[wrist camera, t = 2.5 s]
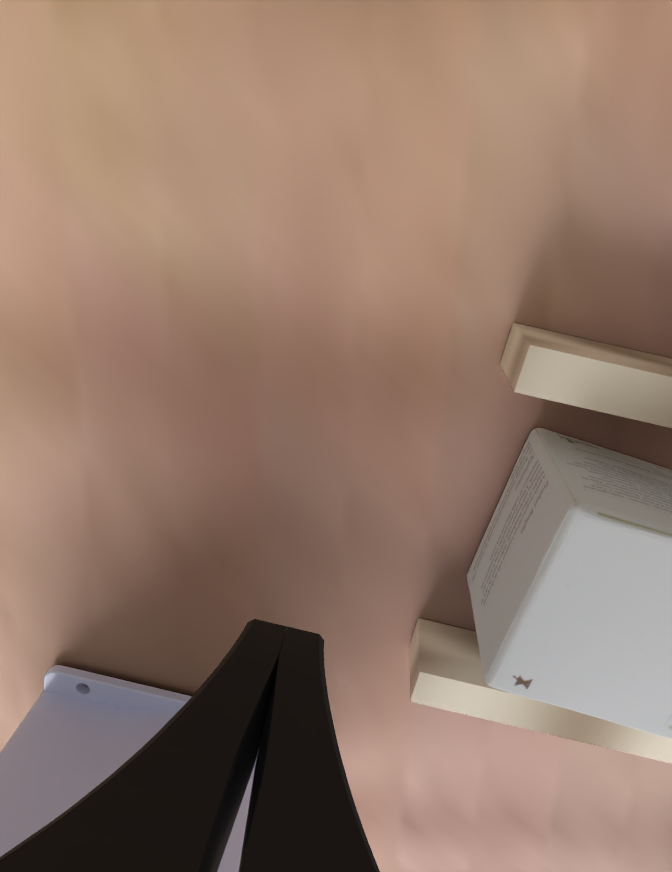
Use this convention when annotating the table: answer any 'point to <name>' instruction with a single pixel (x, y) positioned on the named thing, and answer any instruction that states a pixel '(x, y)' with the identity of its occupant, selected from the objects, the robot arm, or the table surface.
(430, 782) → the table surface
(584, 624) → the small box
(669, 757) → the parallel cream rails
